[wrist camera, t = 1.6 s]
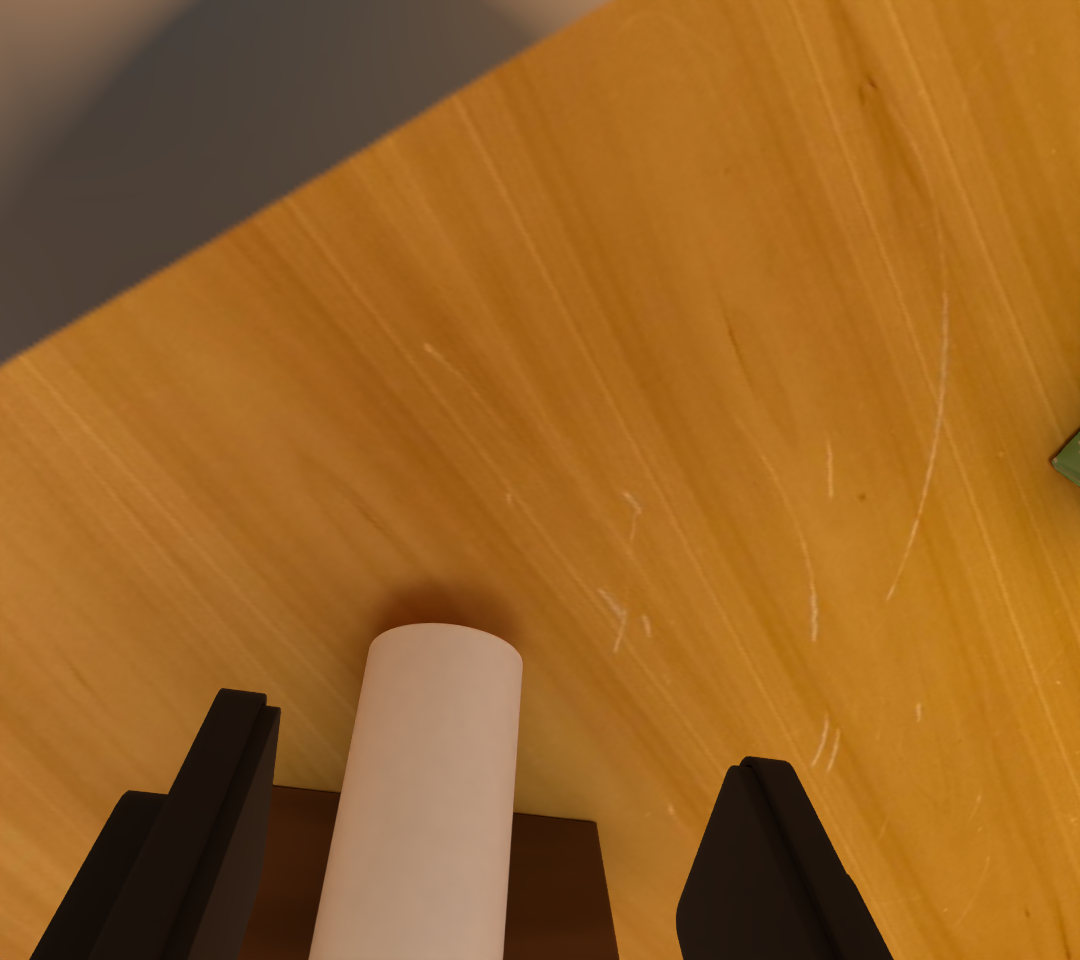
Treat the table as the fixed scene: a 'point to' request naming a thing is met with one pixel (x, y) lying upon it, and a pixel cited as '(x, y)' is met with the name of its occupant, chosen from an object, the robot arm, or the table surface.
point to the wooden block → (532, 899)
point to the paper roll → (425, 802)
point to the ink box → (1069, 460)
